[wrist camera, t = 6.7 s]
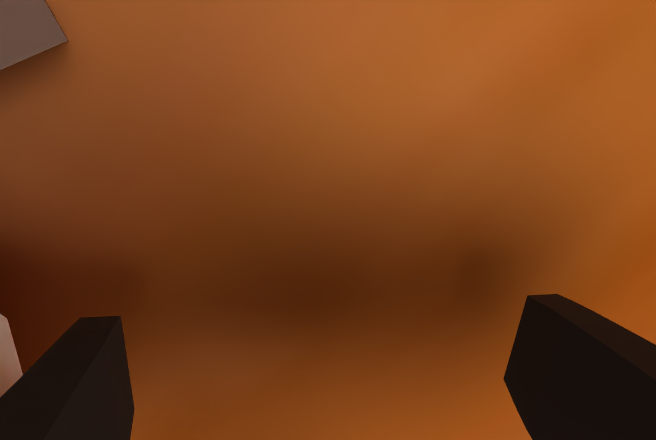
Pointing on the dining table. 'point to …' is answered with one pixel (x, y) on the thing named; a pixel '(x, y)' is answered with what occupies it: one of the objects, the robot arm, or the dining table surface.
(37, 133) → the dining table surface
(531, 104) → the dining table surface
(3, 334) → the geometric ball
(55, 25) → the tray
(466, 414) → the dining table surface
